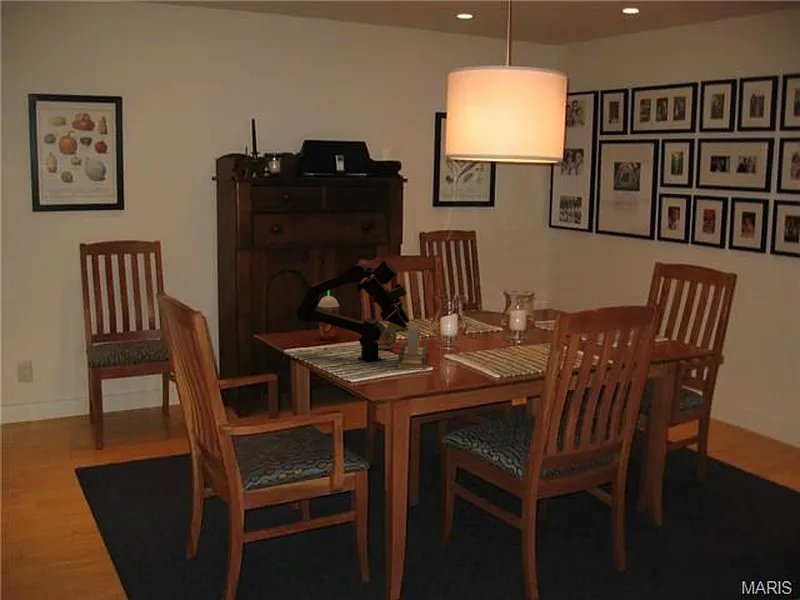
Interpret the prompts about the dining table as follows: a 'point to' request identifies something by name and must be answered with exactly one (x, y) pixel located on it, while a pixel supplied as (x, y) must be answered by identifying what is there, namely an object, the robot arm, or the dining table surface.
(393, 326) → the plant pot
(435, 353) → the dining table surface
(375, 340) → the robot arm
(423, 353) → the tan piece
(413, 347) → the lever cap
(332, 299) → the smoothie
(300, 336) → the dining table surface
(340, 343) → the dining table surface
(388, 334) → the pocket watch
